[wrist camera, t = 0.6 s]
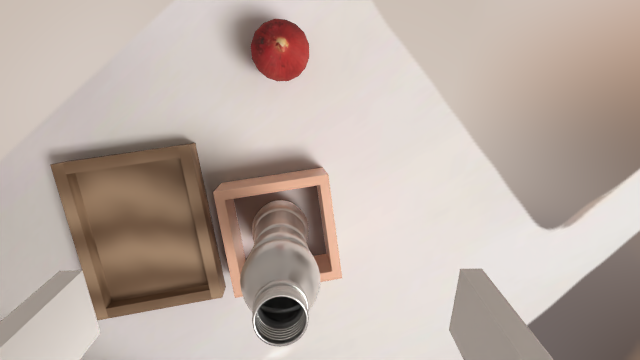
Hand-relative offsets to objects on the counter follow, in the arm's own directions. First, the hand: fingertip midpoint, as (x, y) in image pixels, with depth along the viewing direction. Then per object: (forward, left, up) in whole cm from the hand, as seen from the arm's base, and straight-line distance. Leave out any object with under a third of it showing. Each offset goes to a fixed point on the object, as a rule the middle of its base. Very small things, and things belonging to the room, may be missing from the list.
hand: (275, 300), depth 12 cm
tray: (-4, +16, -28) cm, 33 cm away
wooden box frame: (-6, +1, -28) cm, 29 cm away
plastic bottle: (-6, +1, -28) cm, 29 cm away
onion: (+13, -2, -28) cm, 31 cm away
